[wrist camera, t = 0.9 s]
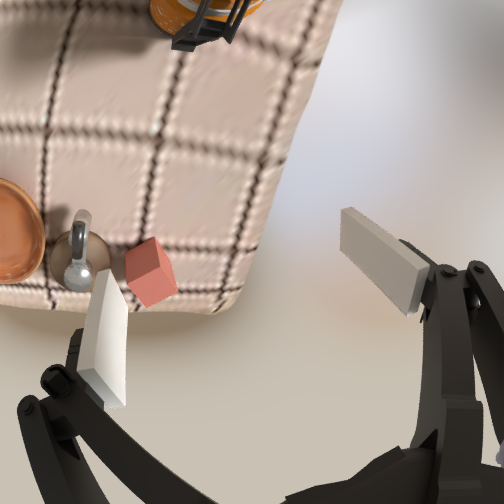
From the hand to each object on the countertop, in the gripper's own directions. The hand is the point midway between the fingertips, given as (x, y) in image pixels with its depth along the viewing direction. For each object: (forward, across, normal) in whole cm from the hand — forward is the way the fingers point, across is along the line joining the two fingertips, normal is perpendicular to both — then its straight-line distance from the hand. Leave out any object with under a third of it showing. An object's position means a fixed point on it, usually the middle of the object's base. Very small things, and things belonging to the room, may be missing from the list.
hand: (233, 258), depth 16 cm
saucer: (+23, -29, 0) cm, 37 cm away
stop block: (+25, -9, -12) cm, 29 cm away
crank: (+21, -16, -5) cm, 27 cm away
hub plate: (+24, -19, -9) cm, 31 cm away
